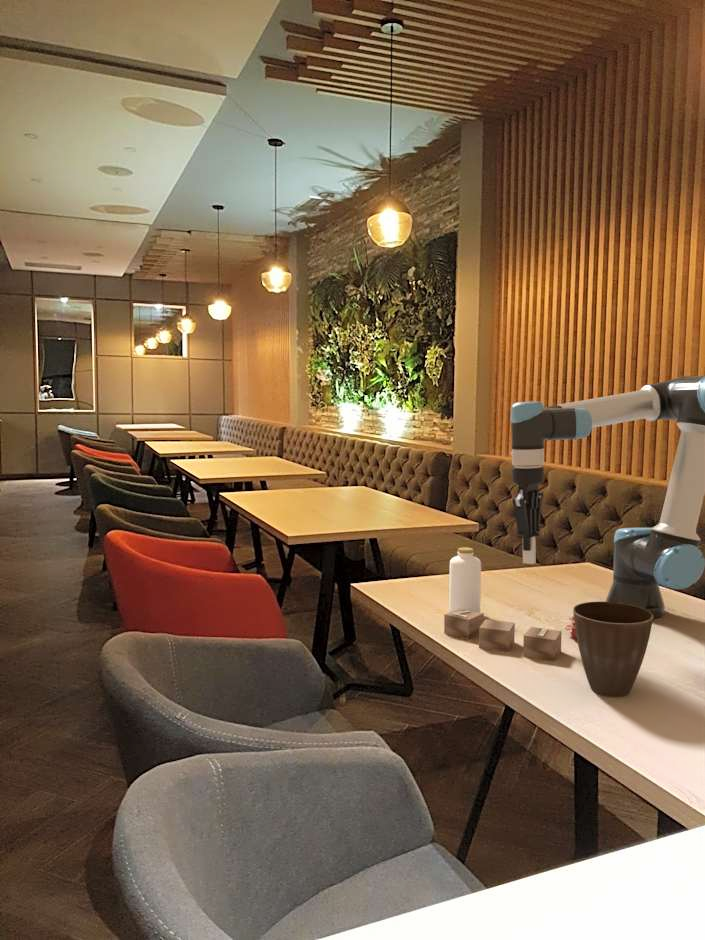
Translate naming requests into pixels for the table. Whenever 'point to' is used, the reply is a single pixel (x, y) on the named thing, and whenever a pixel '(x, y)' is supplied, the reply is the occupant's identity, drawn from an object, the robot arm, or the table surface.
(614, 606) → the plant pot
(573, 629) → the flower
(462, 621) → the marked block seven
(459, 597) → the potion bottle
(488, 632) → the plain block
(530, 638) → the marked block one
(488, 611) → the table surface
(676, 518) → the robot arm
